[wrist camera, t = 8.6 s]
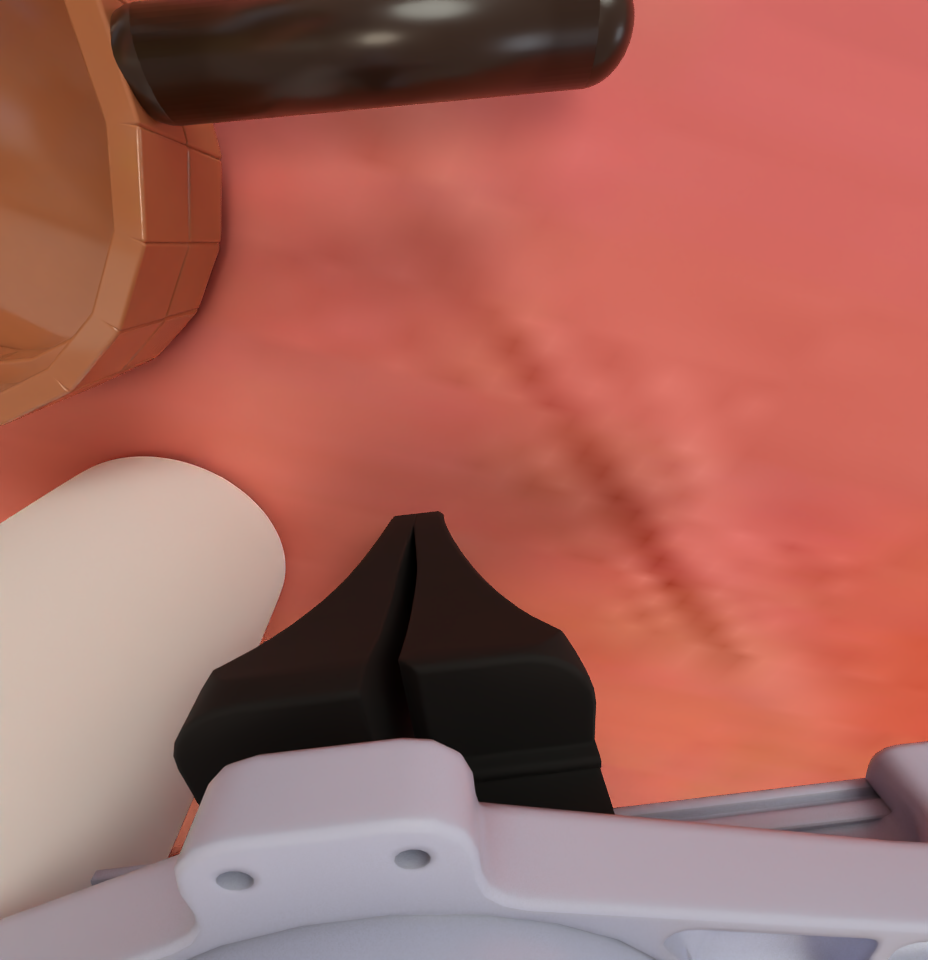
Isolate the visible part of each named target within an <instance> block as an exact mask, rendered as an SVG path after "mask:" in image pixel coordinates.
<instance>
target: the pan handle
mask: <svg viewBox="0 0 928 960" xmlns="http://www.w3.org/2000/svg"><path fill="white" fill-rule="evenodd" d="M633 26H634V4H633V0H147V1H136V2H131V3H126V4H124V5H122V6H121V7H119V8H118V9H116V10H115V11H114V12H113V13H112V16H111V22H110V34H111V47H112V52H113V56H114V58H115V61H116V63H117V65H118V67H119V69H120V71H121V72H122V74H123V76H124V78H125V79H126V81H127V83H128V84H129V86H130V88H131V90H132V92H133V93H134V95H135V97H136V99H137V100H138V102H139V103H140V104H141V106H142V107H143V109H144V110H145V111H146V112H147V114H149V115H150V116H151V117H152V118H153V119H154V120H156V121H157V122H160V123H164V124H168V125H172V126H187V125H197V124H208V123H219V122H230V121H241V120H251V119H262V118H273V117H284V116H294V115H305V114H316V113H327V112H338V111H348V110H359V109H370V108H381V107H391V106H402V105H413V104H424V103H435V102H445V101H456V100H467V99H478V98H488V97H499V96H510V95H521V94H532V93H542V92H553V91H564V90H575V89H584V88H588V87H591V86H593V85H596V84H598V83H600V82H601V81H603V80H604V79H605V78H606V77H608V76H609V75H610V74H611V73H612V72H613V71H614V69H615V68H616V67H617V66H618V64H619V63H620V61H621V60H622V58H623V56H624V55H625V53H626V50H627V48H628V45H629V43H630V40H631V36H632V32H633Z"/></svg>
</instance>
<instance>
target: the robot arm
mask: <svg viewBox="0 0 928 960" xmlns="http://www.w3.org/2000/svg"><path fill="white" fill-rule="evenodd" d="M595 715H596V699H595V692H594V688H593V685H592V682H591V680H590V677H589V675H588V673H587V671H586V669H585V667H584V665H583V664H582V662H581V660H580V658H579V656H578V655H577V653H576V651H575V650H574V648H573V647H572V645H571V644H570V642H569V641H568V639H567V638H566V636H565V635H564V633H563V632H562V631H561V630H559V629H557V628H555V627H553V626H551V625H549V624H547V623H545V622H543V621H541V620H539V619H537V618H535V617H533V616H531V615H529V614H528V613H526V612H524V611H523V610H521V609H519V608H518V607H517V606H515V605H514V604H513V603H511V602H510V601H509V600H507V599H506V598H505V597H503V596H502V595H501V594H499V593H498V592H497V591H496V590H495V589H494V588H493V587H492V586H491V585H489V584H488V583H487V582H486V581H485V580H484V579H483V578H482V577H481V576H480V574H479V573H478V572H477V571H476V570H475V569H474V568H473V566H472V565H471V564H470V563H469V561H468V560H467V559H466V558H465V556H464V555H463V553H462V552H461V551H460V549H459V548H458V546H457V544H456V543H455V541H454V540H453V538H452V536H451V534H450V532H449V530H448V528H447V526H446V524H445V521H444V515H443V514H442V513H441V512H439V511H436V512H427V513H418V514H410V515H401V516H394V517H393V519H392V520H391V521H390V523H389V524H388V526H387V527H386V529H385V530H384V531H383V533H382V534H381V536H380V537H379V539H378V540H377V541H376V543H375V544H374V545H373V547H372V548H371V549H370V551H369V552H368V553H367V555H366V556H365V557H364V559H363V560H362V561H361V562H360V563H359V565H358V566H357V567H356V568H355V569H354V570H353V571H352V573H351V574H350V575H349V576H348V577H347V578H346V579H345V580H344V582H343V583H341V584H340V585H339V586H338V587H337V588H336V589H335V590H334V591H333V592H332V593H331V594H330V595H329V596H328V597H327V598H325V599H324V600H323V601H322V602H321V603H319V604H318V605H317V606H316V607H314V608H313V609H312V610H311V611H309V612H308V613H307V614H305V615H304V616H303V617H302V618H300V619H299V620H298V621H296V622H295V623H294V624H292V625H291V626H289V627H288V628H286V629H285V630H283V631H282V632H280V633H279V634H277V635H276V636H274V637H272V638H271V639H269V640H268V641H266V642H264V643H263V644H261V645H259V646H258V647H256V648H254V649H253V650H251V651H249V652H247V653H245V654H243V655H241V656H239V657H238V658H236V659H234V660H232V661H230V662H228V663H226V664H224V665H223V666H221V667H218V668H216V669H214V670H213V671H212V673H211V674H210V676H209V678H208V679H207V681H206V683H205V684H204V686H203V688H202V689H201V691H200V693H199V695H198V697H197V699H196V701H195V703H194V705H193V707H192V709H191V711H190V713H189V715H188V717H187V719H186V721H185V722H184V724H183V726H182V728H181V730H180V732H179V734H178V736H177V738H176V740H175V742H174V754H173V757H174V759H175V762H176V765H177V768H178V770H179V772H180V774H181V775H182V777H183V779H184V780H185V782H186V784H187V786H188V787H189V789H190V791H191V792H192V794H193V796H194V798H195V799H196V801H197V803H198V804H199V808H198V811H197V813H196V815H195V818H194V820H193V823H192V825H191V827H190V830H189V832H188V835H187V837H186V839H185V842H184V844H183V847H182V849H181V851H180V854H178V855H175V856H173V857H170V858H167V859H164V860H162V861H159V862H156V863H153V864H145V865H137V866H129V867H120V868H112V869H104V870H97V871H96V872H95V873H94V875H93V877H92V879H91V885H92V886H90V887H87V888H85V889H82V890H79V891H76V892H74V893H71V894H68V895H65V896H63V897H60V898H57V899H54V900H52V901H49V902H46V903H43V904H41V905H38V906H35V907H33V908H30V909H27V910H24V911H22V912H19V913H16V914H13V915H11V916H8V917H5V918H2V919H0V960H928V741H925V742H917V743H908V744H900V745H894V746H890V747H886V748H884V749H882V750H881V751H879V752H877V753H876V754H875V755H874V756H873V758H872V759H871V761H870V763H869V765H868V769H867V773H866V778H860V779H852V780H844V781H835V782H827V783H819V784H811V785H802V786H794V787H786V788H777V789H769V790H761V791H752V792H744V793H736V794H727V795H719V796H711V797H702V798H694V799H686V800H677V801H669V802H661V803H653V804H644V805H636V806H628V807H619V808H613V807H612V804H611V801H610V797H609V794H608V791H607V788H606V785H605V782H604V779H603V776H602V773H601V769H600V768H601V758H600V755H599V752H598V749H597V745H596V742H595V739H594V738H595Z"/></svg>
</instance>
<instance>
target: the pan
mask: <svg viewBox="0 0 928 960" xmlns="http://www.w3.org/2000/svg"><path fill="white" fill-rule="evenodd" d="M136 1H147V0H0V426H1V425H5V424H7V423H10V422H12V421H15V420H17V419H19V418H22V417H24V416H26V415H29V414H31V413H34V412H36V411H38V410H41V409H43V408H46V407H48V406H50V405H53V404H55V403H58V402H60V401H62V400H65V399H67V398H69V397H72V396H74V395H76V394H79V393H81V392H84V391H86V390H88V389H91V388H93V387H96V386H98V385H100V384H103V383H105V382H107V381H109V380H111V379H113V378H115V377H117V376H119V375H122V374H124V373H126V372H128V371H130V370H132V369H134V368H136V367H138V366H140V365H142V364H144V363H146V362H148V361H150V360H153V359H154V358H155V357H156V356H158V355H160V354H161V352H162V351H163V350H164V349H165V348H166V347H167V346H168V344H169V343H170V342H171V341H172V340H173V339H174V338H175V336H176V335H177V334H178V333H179V332H180V331H181V330H182V329H183V327H184V326H185V325H186V324H187V323H188V322H189V321H190V319H191V318H192V317H193V316H194V315H195V314H196V313H197V308H198V307H199V306H200V303H201V300H202V297H203V294H204V291H205V289H206V286H207V283H208V280H209V277H210V274H211V271H212V269H213V266H214V263H215V260H216V257H217V254H218V251H219V248H220V245H219V244H218V243H220V241H221V188H222V164H221V161H220V159H221V152H220V148H219V144H218V141H217V137H216V133H215V129H214V125H213V123H208V124H197V125H187V126H172V125H168V124H164V123H160V122H157V121H156V120H154V119H153V118H152V117H151V116H150V115H149V114H147V112H146V111H145V110H144V109H143V107H142V106H141V104H140V103H139V102H138V100H137V99H136V97H135V95H134V93H133V92H132V90H131V88H130V86H129V84H128V83H127V81H126V79H125V78H124V76H123V74H122V72H121V71H120V69H119V67H118V65H117V63H116V61H115V58H114V56H113V52H112V47H111V34H110V22H111V16H112V13H113V12H114V11H115V10H116V9H118V8H119V7H121V6H122V5H124V4H126V3H131V2H136Z"/></svg>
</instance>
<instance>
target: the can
mask: <svg viewBox="0 0 928 960" xmlns="http://www.w3.org/2000/svg"><path fill="white" fill-rule="evenodd" d="M285 571H286V564H285V555H284V550H283V546H282V543H281V541H280V538H279V536H278V533H277V531H276V530H275V528H274V526H273V524H272V523H271V521H270V520H269V518H268V517H267V515H266V514H265V513H264V512H263V510H262V509H261V508H260V507H259V506H258V505H257V504H256V503H255V502H254V501H253V500H252V499H251V498H250V497H249V496H248V495H247V494H245V493H244V492H243V491H242V490H240V489H239V488H238V487H236V486H235V485H233V484H232V483H230V482H229V481H227V480H225V479H224V478H222V477H220V476H218V475H216V474H214V473H212V472H210V471H208V470H206V469H203V468H201V467H198V466H195V465H192V464H189V463H186V462H182V461H178V460H173V459H168V458H161V457H148V456H138V457H126V458H119V459H114V460H110V461H106V462H103V463H100V464H98V465H95V466H93V467H91V468H89V469H87V470H85V471H83V472H81V473H80V474H78V475H76V476H75V477H73V478H71V479H70V480H68V481H66V482H65V483H63V484H62V485H60V486H58V487H57V488H55V489H54V490H52V491H50V492H49V493H47V494H46V495H44V496H43V497H41V498H39V499H38V500H36V501H35V502H33V503H31V504H30V505H28V506H27V507H25V508H24V509H22V510H21V511H19V512H17V513H16V514H14V515H13V516H11V517H10V518H8V519H6V520H5V521H3V522H2V523H0V919H2V918H5V917H8V916H11V915H13V914H16V913H19V912H22V911H24V910H27V909H30V908H33V907H35V906H38V905H41V904H43V903H46V902H49V901H52V900H54V899H57V898H60V897H63V896H65V895H68V894H71V893H74V892H76V891H79V890H82V889H85V888H87V887H90V886H92V885H91V879H92V877H93V875H94V873H95V872H96V871H97V870H104V869H112V868H120V867H129V866H137V865H145V864H153V863H156V862H159V861H162V860H164V859H167V858H168V856H169V854H170V852H171V849H172V847H173V845H174V842H175V840H176V838H177V835H178V833H179V831H180V828H181V826H182V824H183V821H184V819H185V817H186V815H187V812H188V810H189V808H190V805H191V803H192V801H193V798H194V796H193V794H192V792H191V791H190V789H189V787H188V786H187V784H186V782H185V780H184V779H183V777H182V775H181V774H180V772H179V770H178V768H177V765H176V762H175V759H174V757H173V754H174V742H175V740H176V738H177V736H178V734H179V732H180V730H181V728H182V726H183V724H184V722H185V721H186V719H187V717H188V715H189V713H190V711H191V709H192V707H193V705H194V703H195V701H196V699H197V697H198V695H199V693H200V691H201V689H202V688H203V686H204V684H205V683H206V681H207V679H208V678H209V676H210V674H211V673H212V671H213V670H214V669H216V668H218V667H221V666H223V665H224V664H226V663H228V662H230V661H232V660H234V659H236V658H238V657H239V656H241V655H243V654H245V653H247V652H249V651H251V650H253V649H254V648H256V647H258V646H259V644H260V642H261V640H262V637H263V635H264V633H265V630H266V628H267V625H268V623H269V621H270V618H271V616H272V613H273V611H274V609H275V606H276V604H277V601H278V599H279V596H280V593H281V590H282V587H283V584H284V579H285Z"/></svg>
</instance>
